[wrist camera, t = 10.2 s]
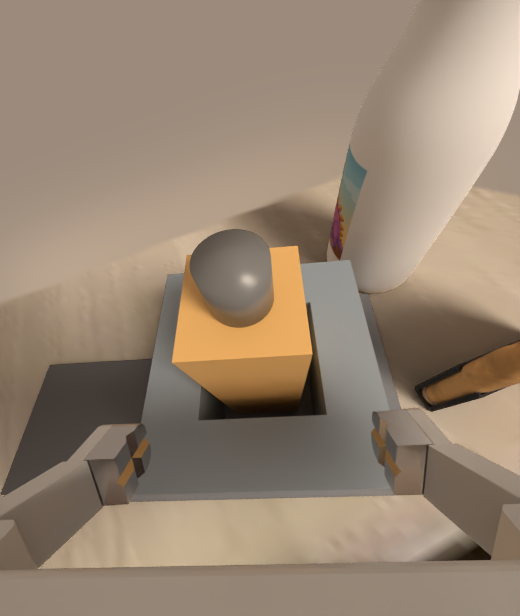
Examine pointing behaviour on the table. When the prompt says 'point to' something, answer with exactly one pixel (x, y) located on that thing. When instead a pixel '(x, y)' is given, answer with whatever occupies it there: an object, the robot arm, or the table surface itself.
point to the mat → (77, 412)
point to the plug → (244, 323)
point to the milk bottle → (425, 135)
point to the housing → (274, 425)
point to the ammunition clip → (473, 378)
